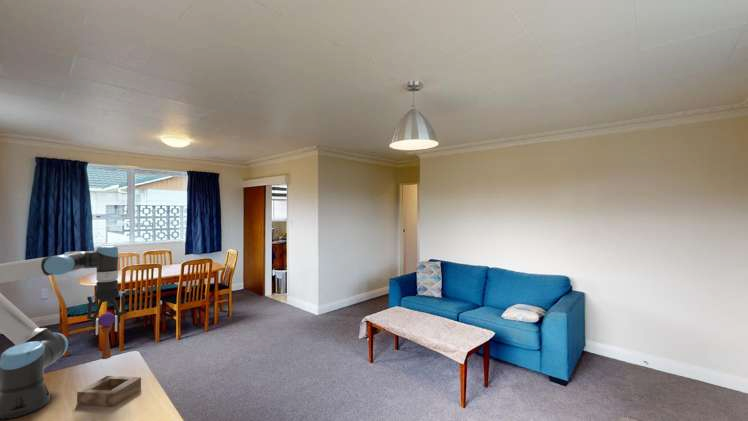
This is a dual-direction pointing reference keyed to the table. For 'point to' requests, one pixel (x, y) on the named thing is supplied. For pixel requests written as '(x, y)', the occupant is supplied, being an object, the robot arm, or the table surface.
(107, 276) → the robot arm
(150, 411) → the table surface
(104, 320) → the kendama
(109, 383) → the socket block
